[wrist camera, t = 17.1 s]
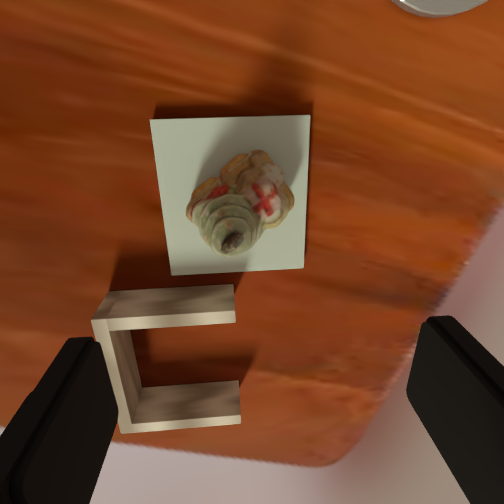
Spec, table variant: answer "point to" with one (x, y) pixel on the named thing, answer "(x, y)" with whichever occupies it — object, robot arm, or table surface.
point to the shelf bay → (125, 365)
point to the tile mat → (209, 165)
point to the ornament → (240, 203)
